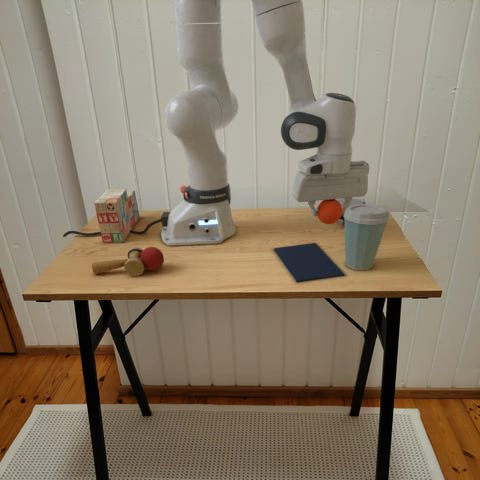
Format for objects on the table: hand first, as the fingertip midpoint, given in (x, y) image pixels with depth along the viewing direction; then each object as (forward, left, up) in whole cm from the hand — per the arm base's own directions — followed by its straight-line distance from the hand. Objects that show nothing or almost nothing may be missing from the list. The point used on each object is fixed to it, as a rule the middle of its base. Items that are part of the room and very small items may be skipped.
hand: (328, 214), depth 125 cm
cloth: (-10, -13, -7) cm, 18 cm away
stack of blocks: (-57, +27, -8) cm, 64 cm away
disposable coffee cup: (+2, -18, -8) cm, 20 cm away
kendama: (-55, -5, -8) cm, 56 cm away
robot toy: (+13, +12, -8) cm, 19 cm away
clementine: (0, 0, -3) cm, 3 cm away
